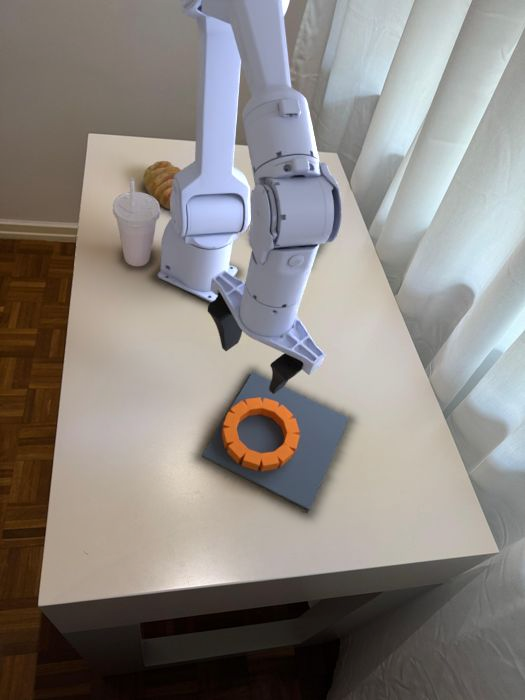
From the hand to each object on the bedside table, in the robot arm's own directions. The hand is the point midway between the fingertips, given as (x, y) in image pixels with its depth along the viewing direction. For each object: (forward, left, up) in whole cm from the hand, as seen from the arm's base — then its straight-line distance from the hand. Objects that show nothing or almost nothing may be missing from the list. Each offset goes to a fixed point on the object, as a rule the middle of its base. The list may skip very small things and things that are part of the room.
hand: (253, 366), depth 66 cm
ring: (+4, -3, -9) cm, 10 cm away
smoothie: (-25, +15, -9) cm, 31 cm away
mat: (+6, -2, -9) cm, 11 cm away
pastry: (-29, +31, -9) cm, 44 cm away
